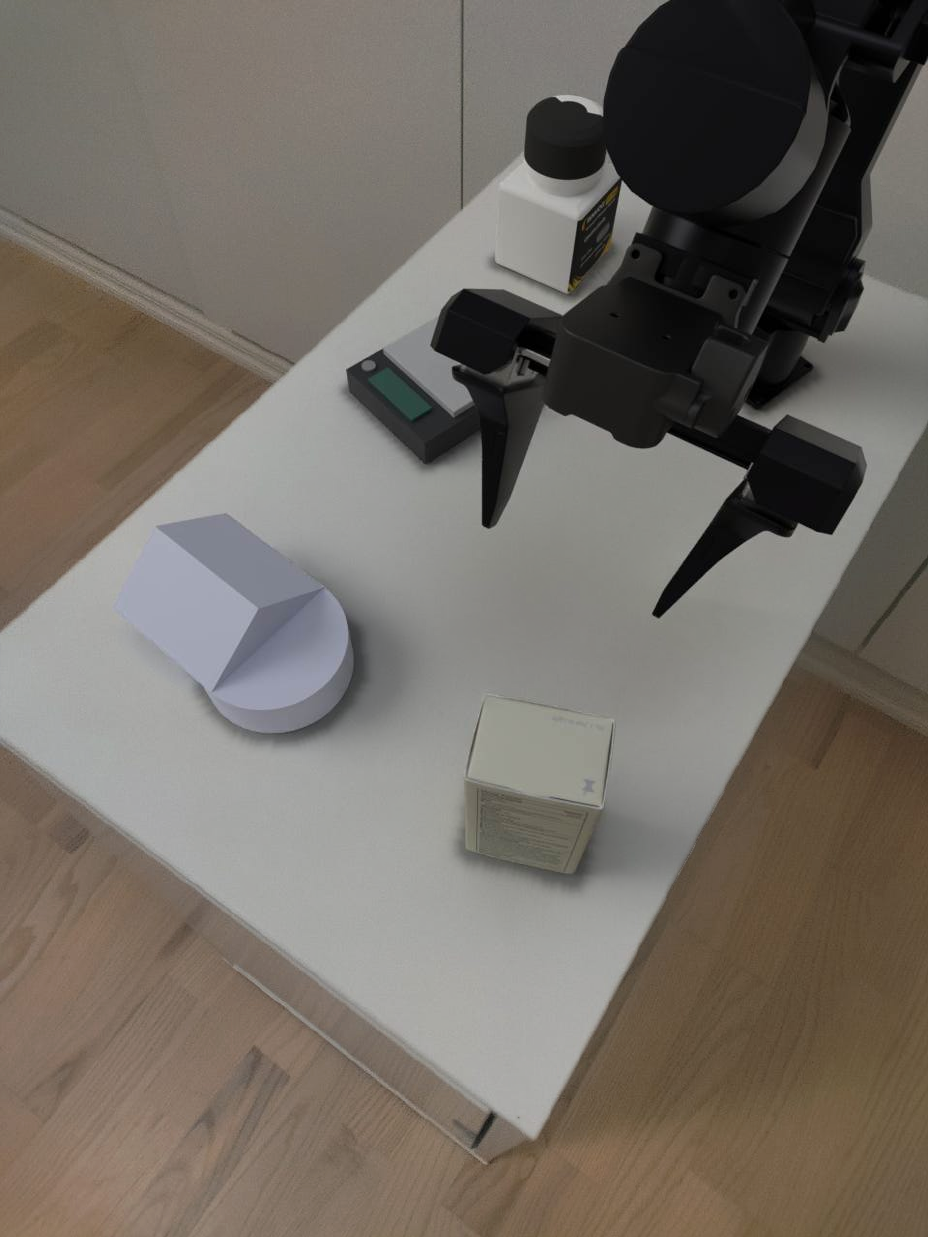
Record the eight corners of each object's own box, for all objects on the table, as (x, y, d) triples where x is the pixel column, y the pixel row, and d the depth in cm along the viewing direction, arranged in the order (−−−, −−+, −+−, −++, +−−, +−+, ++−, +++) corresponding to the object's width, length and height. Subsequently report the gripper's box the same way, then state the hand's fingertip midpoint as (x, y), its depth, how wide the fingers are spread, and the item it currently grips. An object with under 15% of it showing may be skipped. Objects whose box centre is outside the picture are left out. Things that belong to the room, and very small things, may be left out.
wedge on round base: (130, 635, 54) (278, 763, 50) (91, 577, 48) (255, 716, 44) (237, 543, 57) (384, 656, 53) (213, 478, 52) (376, 599, 48)
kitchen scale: (472, 319, 68) (473, 289, 66) (550, 384, 65) (554, 356, 62) (348, 391, 64) (344, 362, 62) (425, 464, 61) (424, 437, 58)
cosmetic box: (586, 802, 49) (623, 716, 38) (573, 880, 47) (608, 812, 36) (477, 777, 50) (484, 686, 39) (459, 853, 47) (461, 779, 37)
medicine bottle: (568, 297, 70) (589, 153, 59) (493, 263, 71) (500, 118, 61) (610, 248, 73) (637, 103, 62) (537, 217, 74) (551, 71, 64)
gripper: (427, 119, 30) (317, 518, 37) (966, 330, 25) (718, 741, 32) (542, 162, 39) (437, 474, 47) (950, 321, 34) (761, 641, 42)
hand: (570, 569), depth 42 cm, fingers open, 9 cm apart
